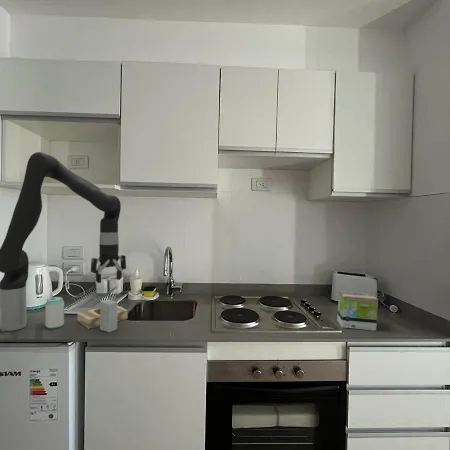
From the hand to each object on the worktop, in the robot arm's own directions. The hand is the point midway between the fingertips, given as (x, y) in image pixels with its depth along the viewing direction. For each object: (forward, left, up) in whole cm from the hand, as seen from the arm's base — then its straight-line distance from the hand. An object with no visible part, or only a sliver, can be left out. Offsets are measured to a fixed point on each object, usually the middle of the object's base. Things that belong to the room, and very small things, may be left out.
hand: (108, 281), depth 128 cm
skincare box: (0, 0, -21) cm, 21 cm away
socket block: (+3, +12, -21) cm, 24 cm away
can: (-15, +19, -21) cm, 32 cm away
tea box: (+85, -72, -21) cm, 113 cm away
